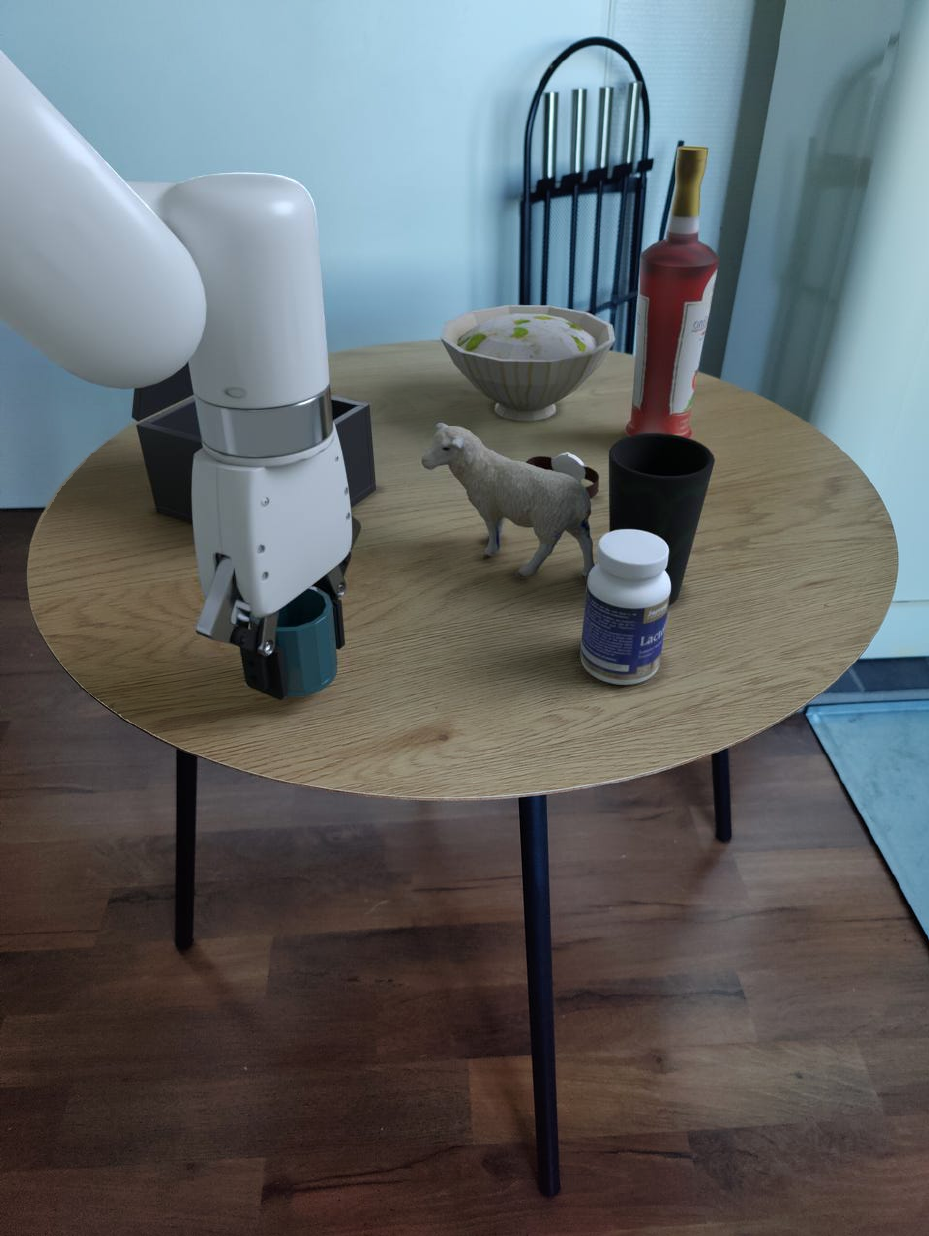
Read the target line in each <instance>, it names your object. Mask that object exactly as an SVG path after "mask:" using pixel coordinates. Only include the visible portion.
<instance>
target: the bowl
mask: <svg viewBox="0 0 929 1236" xmlns="http://www.w3.org/2000/svg"><path fill="white" fill-rule="evenodd" d="M439 339H440V340H441V342H442V344H443V346H444V348H445V349H446V352H447V353H448V355H449V357H450V359H451V361H452V364H453V365H454V367H456V369H458V370H459V371H460V373H462V375H463V376H464V377H465V378H466V379H467V380H468V381H469V382H470V383H471V385H472V386H473V387H474V388H475V389H476V390H478V391H479V392H480V393H482V394H483V395H484V396H486V397H487V398H488V399H490V400H492V401H494V402H496V403H495V406H494V412H495V413H496V414H498V415H499V416H500V417H502V418H505V419H509V420H513V421H516V422H517V421H519V422H520V421H521V422H522V421H523V422H528V421H529V422H535V421H539V420H543V419H548V418H549V417H551V416H553V415H554V414H555V413H556V409H557V408H556V407H557V405H556V403H557V402H559V401H561V400H563V399H565V398H566V397H567V396H569V395H571V394H572V393H574V392H575V391H576V390H577V389H579V388H580V386H582V384H583V383H585V382H586V381H587V380H588V378H590V377H591V376H592V375H593V373H595V372H596V371H597V370H598V369H599V368H600V366H601V365H602V363H603V362H604V360H605V358H606V356H607V355H608V353H609V351H610V350H611V348H612V347H613V345H614V343H615V342H616V337H615V331H614V325H613V324H612V323H610V322H608V321H605V319H602V318H599V316H596V315H594V314H592V313H590V312H588V311H582V310H577V309H570V308H567V307H560V306H555V305H545V304H543V305H541V304H540V305H539V304H535V305H532V304H531V305H529V304H526V305H525V304H505V305H500V306H493V307H487V308H486V307H485V308H481V309H475V310H468V311H467V312H465V313H463V314H460V315H458V316H456V317H454V318H452V319H450V320H448V321H446V322H444V323H443V326H442V331H441V333H440V336H439Z"/></svg>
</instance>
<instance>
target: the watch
mask: <svg viewBox="0 0 929 1236" xmlns="http://www.w3.org/2000/svg"><path fill="white" fill-rule="evenodd" d="M524 462H525V463H528V464H531V465H534V466H536V467H539V468H542V469H545V470H550V471H553V472H560V473H564V474H567V475H570V476H572V477H573V478H575V479H576V480H577V481H579V482H581V481H582V480H585V481H589V482H591V483H592V484H591V485H589V486H584V487H585V488H586V490H587V492H588V494H589V498H590V500H591V499H593V498H594V497H596V496H597V494H598V493H599V487H600V475H599V473H598V472H597V471H596V470H595V469H593V468H592V467H589V466H587V465H585V464H584V461H582V460H581V459H580V458H579V457H578V456H576V455H575V454H573V453H570V452H569V451H566V452H562V453H560V454H558V455H556V456H555V457H553V456H547V455H538V456H537V455H536V456H532V457H530V458H528V459H527V460H526V461H524Z"/></svg>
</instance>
